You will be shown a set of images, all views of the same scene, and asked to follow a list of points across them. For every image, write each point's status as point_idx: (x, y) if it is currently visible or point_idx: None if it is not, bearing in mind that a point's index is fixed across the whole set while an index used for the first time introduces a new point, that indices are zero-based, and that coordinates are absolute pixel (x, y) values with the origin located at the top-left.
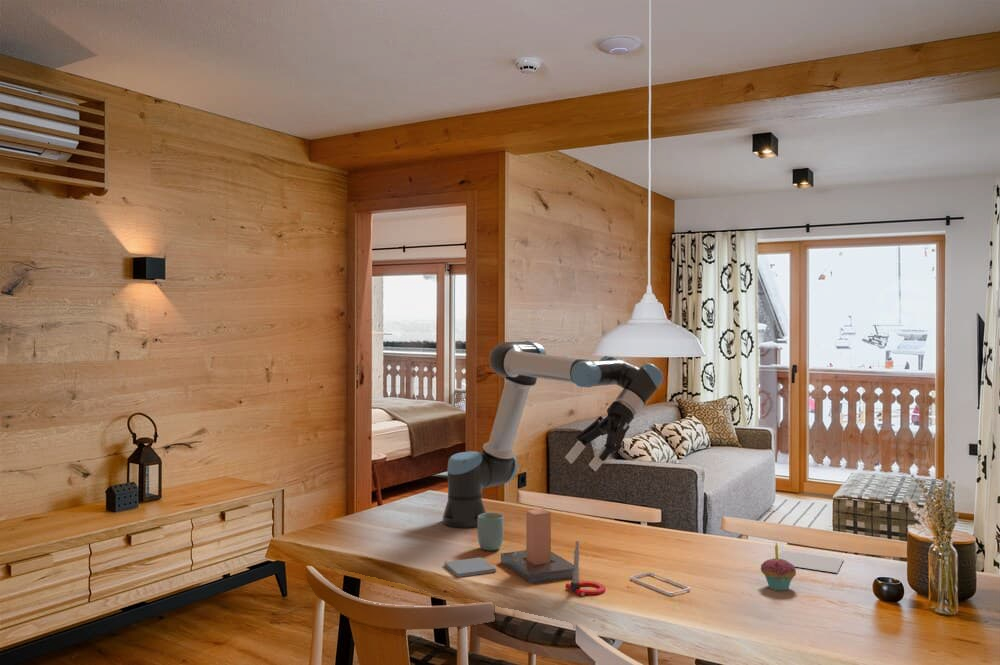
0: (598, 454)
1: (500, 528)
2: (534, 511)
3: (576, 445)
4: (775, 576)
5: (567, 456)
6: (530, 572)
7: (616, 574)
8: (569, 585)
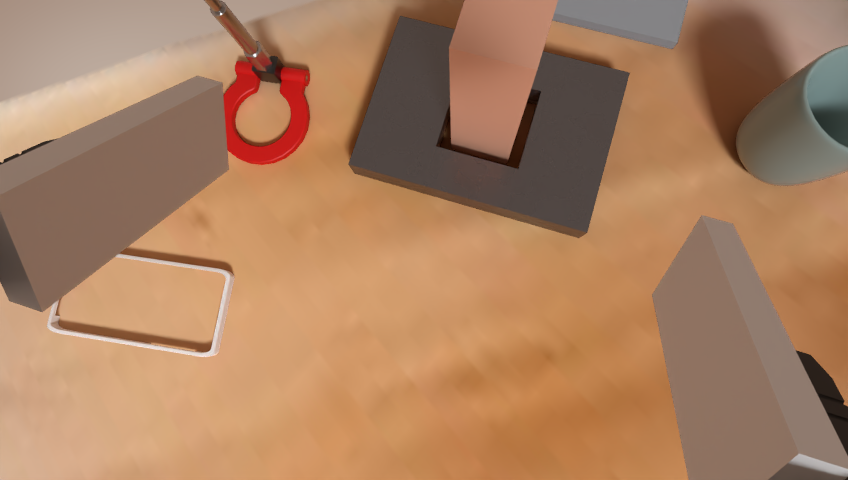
0: (85, 130)
1: (773, 127)
2: (517, 4)
3: (755, 364)
4: None
5: (703, 229)
6: (415, 24)
7: (291, 278)
8: (291, 69)
